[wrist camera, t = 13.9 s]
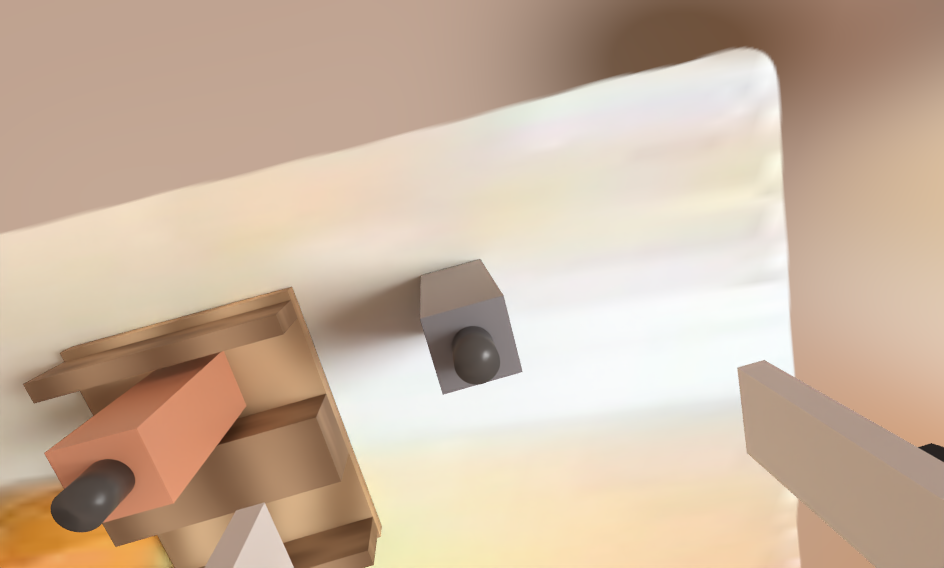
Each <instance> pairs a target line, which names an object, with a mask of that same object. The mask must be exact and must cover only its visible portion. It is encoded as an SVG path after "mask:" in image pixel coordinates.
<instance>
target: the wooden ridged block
mask: <svg viewBox="0 0 944 568" xmlns="http://www.w3.org/2000/svg"><path fill="white" fill-rule="evenodd" d="M222 351H224V353H225V355H226V358H227V360H228V362H229V365H230V367H231V370H232V372H233V374H234V377H235V379H236V382H237V384H238V386H239V389H240V391H241V394H242V396H243V398H244V401H245V403H246V407H245V409H244V410H243V411H242V413H241V414H240V415H239V417H238V418H237V419H236V421H235V422H234V423H233V425H232V426H231V427H230V429H229V430H228V431H227V433H226V434H225V435H224V437H223V438H222V439H221V441H220V442H219V443H218V445H217V446H216V447H215V449H214V450H213V451H212V453H211V454H210V455H209V457H208V458H207V459H206V461H205V462H204V464H203V465H202V466H201V468H200V469H199V470H198V472H197V473H196V474H195V476H194V477H193V478H192V480H191V481H190V482H189V484H188V485H187V486H186V488H185V489H184V490H183V492H182V493H181V494H180V496H179V497H178V498H177V500H176V501H175V502H174V503H173V504H170V505H166V506H162V507H159V508H155V509H152V510H148V511H144V512H141V513H137V514H133V515H130V516H126V517H122V518H119V519H115V520H112V521H108V522H104V523H102V524H103V526H104V527H105V529H106V531H107V533H108V534H109V536H110V538H111V540H112V541H113V543H114V545H115V547H117V546H120V545H124V544H127V543H131V542H134V541H138V540H141V539H145V538H148V537H151V536H155V535H157V536H158V537H159V539H160V541H161V543H162V545H163V547H164V549H165V550H166V552H167V554H168V556H169V558H170V560H171V562H172V564H173V565H174V567H175V568H205V566H206V564H207V562H208V560H209V558H210V557H211V555H212V553H213V551H214V549H215V548H216V546H217V544H218V542H219V540H220V539H221V537H222V535H223V533H224V531H225V530H226V528H227V526H228V524H229V522H230V521H231V519H232V517H233V515H234V513H235V512H236V510H240V509H243V508H247V507H250V506H254V505H257V504H261V503H264V502H265V504H266V507H267V509H268V511H269V513H270V515H271V518H272V520H273V522H274V524H275V527H276V529H277V531H278V533H279V535H280V538H281V540H282V542H283V544H284V547H285V549H286V551H287V553H288V555H289V558H290V560H291V562H292V564H293V566H294V568H365V567H368V566H372V565H374V558H375V550H376V542H377V538H378V537H381V528H382V526H381V523H380V520H379V518H378V515H377V512H376V510H375V507H374V504H373V502H372V499H371V496H370V494H369V491H368V488H367V486H366V483H365V480H364V478H363V475H362V472H361V470H360V467H359V464H358V462H357V459H356V456H355V454H354V451H353V448H352V446H351V443H350V440H349V438H348V435H347V432H346V430H345V427H344V424H343V422H342V419H341V416H340V414H339V411H338V408H337V406H336V403H335V400H334V398H333V395H332V392H331V390H330V387H329V384H328V382H327V379H326V376H325V374H324V371H323V368H322V366H321V363H320V360H319V358H318V355H317V352H316V350H315V347H314V344H313V342H312V339H311V336H310V334H309V331H308V328H307V326H306V323H305V320H304V317H303V315H302V312H301V309H300V307H299V304H298V301H297V299H296V296H295V293H294V291H293V288H292V287H290V288H286V289H282V290H279V291H275V292H271V293H268V294H264V295H260V296H257V297H253V298H249V299H246V300H242V301H238V302H235V303H231V304H227V305H224V306H220V307H216V308H213V309H209V310H205V311H202V312H198V313H194V314H191V315H187V316H183V317H180V318H176V319H172V320H169V321H165V322H161V323H158V324H154V325H150V326H147V327H143V328H139V329H136V330H132V331H128V332H125V333H121V334H117V335H114V336H110V337H106V338H103V339H99V340H95V341H92V342H88V343H84V344H81V345H77V346H73V347H71V348H69V349H67V350H65V351H63V352H61V353H60V354H61V356H62V358H63V360H64V362H63V363H62V364H60V365H58V366H56V367H54V368H52V369H50V370H49V371H47V372H45V373H43V374H41V375H39V376H37V377H36V378H34V379H32V380H30V381H28V382H26V383H24V384H23V385H24V387H25V389H26V390H27V392H28V394H29V396H30V397H31V399H32V401H33V403H37V402H41V401H45V400H48V399H52V398H55V397H59V396H63V395H66V394H70V393H74V392H77V391H80V392H81V394H82V395H83V397H84V399H85V401H86V403H87V405H88V407H89V409H90V410H91V412H92V414H93V416H94V415H96V414H97V413H98V412H100V411H101V410H102V409H104V408H105V407H106V406H108V405H109V404H110V403H112V402H113V401H114V400H116V399H117V398H118V397H120V396H121V395H122V394H124V393H125V392H126V391H128V390H129V389H130V388H132V387H133V386H134V385H136V384H137V383H138V382H140V381H141V380H142V379H144V378H145V377H146V376H148V375H149V374H150V373H152V372H153V371H154V370H157V369H160V368H164V367H168V366H171V365H175V364H179V363H182V362H186V361H189V360H193V359H197V358H200V357H204V356H208V355H211V354H215V353H218V352H222Z"/></svg>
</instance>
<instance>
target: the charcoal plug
mask: <svg viewBox="0 0 944 568" xmlns="http://www.w3.org/2000/svg"><path fill="white" fill-rule="evenodd" d="M420 321H421V324H422V327H423V331H424V334H425V337H426V340H427V344H428V347H429V350H430V354H431V357H432V360H433V364H434V367H435V370H436V373H437V377H438V380H439V383H440V387H441V390H442V393H443V394H447V393H450V392H454V391H457V390H461V389H464V388H468V387H471V386H475V385H478V384H483V383H486V382H489V381H492V380H496V379H499V378H503V377H506V376H510V375H513V374H517V373H520V372H522V368H521V364H520V360H519V356H518V352H517V348H516V344H515V340H514V336H513V332H512V328H511V324H510V320H509V316H508V312H507V308H506V304H505V300H504V296H503V294H502V292H501V291H500V289H499V288H498V286H497V285H496V283H495V282H494V280H493V278H492V277H491V275H490V274H489V272H488V271H487V269H486V267H485V266H484V264H483V263H482V261H481V260H480V259H479V260H475V261H472V262H468V263H464V264H461V265H457V266H453V267H450V268H446V269H442V270H439V271H435V272H432V273H428V274H424V275H421V291H420Z"/></svg>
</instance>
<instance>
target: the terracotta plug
mask: <svg viewBox="0 0 944 568" xmlns="http://www.w3.org/2000/svg"><path fill="white" fill-rule="evenodd" d="M245 407H246V403H245V401H244V398H243V396H242V394H241V391H240V389H239V386H238V384H237V382H236V379H235V377H234V374H233V372H232V370H231V367H230V365H229V362H228V360H227V358H226V355H225V353H224V351H222V352H218V353H215V354H211V355H208V356H204V357H200V358H197V359H193V360H189V361H186V362H182V363H179V364H175V365H171V366H168V367H164V368H160V369H157V370H154V371H153V372H152V373H150V374H149V375H148V376H146V377H145V378H144V379H142V380H141V381H140V382H138V383H137V384H136V385H134V386H133V387H132V388H130V389H129V390H128V391H126V392H125V393H124V394H122V395H121V396H120V397H118V398H117V399H116V400H114V401H113V402H112V403H110V404H109V405H108V406H106V407H105V408H104V409H102V410H101V411H100V412H98V413H97V414H96V415H94V416H93V417H92V418H90V419H89V420H88V421H86V422H85V423H84V424H82V425H81V426H80V427H78V428H77V429H76V430H74V431H73V432H72V433H70V434H69V435H68V436H66V437H65V438H64V439H62V440H61V441H60V442H58V443H57V444H56V445H54V446H53V447H52V448H50V449H49V450H48V451H46V452H45V453H44V454H45V455H46V457H47V459H48V461H49V463H50V464H51V466H52V468H53V470H54V471H55V473H56V475H57V477H58V479H59V480H60V482H61V484H62V486H63V487H64V490H63V491H62V492H61V493H60V494H59V495H57V496H56V497H55V498H54V500H53V501H52V504H51V514H52V516H53V518H54V520H55V521H56V522H57V523H58V524H59V525H60V526H62V527H63V528H65V529H67V530H70V531H74V532H88V531H91V530H94V529H96V528H97V527H99V526H100V525H101V524H102V523H104V522H108V521H112V520H115V519H119V518H122V517H126V516H130V515H133V514H137V513H141V512H144V511H148V510H152V509H155V508H159V507H162V506H166V505H170V504H173V503H174V502H175V501H176V500H177V498H178V497H179V496H180V494H181V493H182V492H183V490H184V489H185V488H186V486H187V485H188V484H189V482H190V481H191V480H192V478H193V477H194V476H195V474H196V473H197V472H198V470H199V469H200V468H201V466H202V465H203V464H204V462H205V461H206V459H207V458H208V457H209V455H210V454H211V453H212V451H213V450H214V449H215V447H216V446H217V445H218V443H219V442H220V441H221V439H222V438H223V437H224V435H225V434H226V433H227V431H228V430H229V429H230V427H231V426H232V425H233V423H234V422H235V421H236V419H237V418H238V417H239V415H240V414H241V413H242V411H243V410H244V409H245Z"/></svg>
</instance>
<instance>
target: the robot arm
mask: <svg viewBox="0 0 944 568" xmlns="http://www.w3.org/2000/svg"><path fill="white" fill-rule="evenodd" d="M738 377H739V386H740V395H741V404H742V413H743V422H744V431H745V440H746V449H747V453H748V454H749V455H750V456H751V457H752V458H753V459H754V460H755V461H757V462H758V463H759V464H760V465H761V466H762V467H763V468H764V469H766V470H767V471H768V472H769V473H770V474H771V475H772V476H773V477H775V478H776V479H777V480H778V481H779V482H780V483H781V484H782V485H784V486H785V487H786V488H787V489H788V490H789V491H790V492H791V493H793V494H794V495H795V496H796V497H797V498H798V499H799V500H800V501H802V502H803V503H804V504H805V505H806V506H807V507H808V508H810V509H811V510H812V511H813V512H814V513H815V514H816V515H817V516H819V517H820V518H821V519H822V520H823V521H824V522H825V523H826V524H828V525H829V526H830V527H831V528H832V529H833V530H834V531H835V532H836V533H838V534H839V535H840V536H841V537H842V538H843V539H844V540H846V541H847V542H848V543H849V544H850V545H851V546H852V547H853V548H855V549H856V550H857V551H858V552H859V553H860V554H861V555H862V556H864V557H865V558H866V559H867V560H868V561H869V562H870V563H871V564H872V565H874V566H875V567H876V568H944V447H941V446H938V445H935V444H932V443H931V444H928V445H925V446H921V447H916V446H914V445H912V444H911V443H909V442H907V441H905V440H904V439H902V438H900V437H898V436H897V435H895V434H893V433H891V432H890V431H888V430H886V429H884V428H883V427H881V426H879V425H877V424H876V423H874V422H872V421H870V420H868V419H867V418H865V417H863V416H861V415H859V414H858V413H856V412H854V411H853V410H851V409H849V408H847V407H846V406H844V405H842V404H840V403H839V402H837V401H835V400H833V399H832V398H830V397H828V396H826V395H825V394H823V393H821V392H819V391H818V390H816V389H814V388H812V387H810V386H809V385H807V384H805V383H803V382H802V381H800V380H798V379H796V378H795V377H793V376H791V375H789V374H788V373H786V372H784V371H782V370H781V369H779V368H777V367H775V366H774V365H772V364H770V363H768V362H767V361H765V360H763V361H759V362H756V363H752V364H749V365H745V366H742V367H738ZM205 568H294V566H293V564H292V562H291V560H290V558H289V555H288V553H287V551H286V549H285V547H284V544H283V542H282V540H281V538H280V535H279V533H278V531H277V529H276V527H275V524H274V522H273V520H272V518H271V515H270V513H269V511H268V509H267V507H266V504H265V502H264V503H261V504H257V505H254V506H250V507H247V508H243V509H240V510H236V512H235V513H234V515H233V517H232V519H231V521H230V522H229V524H228V526H227V528H226V530H225V531H224V533H223V535H222V537H221V539H220V540H219V542H218V544H217V546H216V548H215V549H214V551H213V553H212V555H211V557H210V558H209V560H208V562H207V564H206V566H205Z"/></svg>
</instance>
